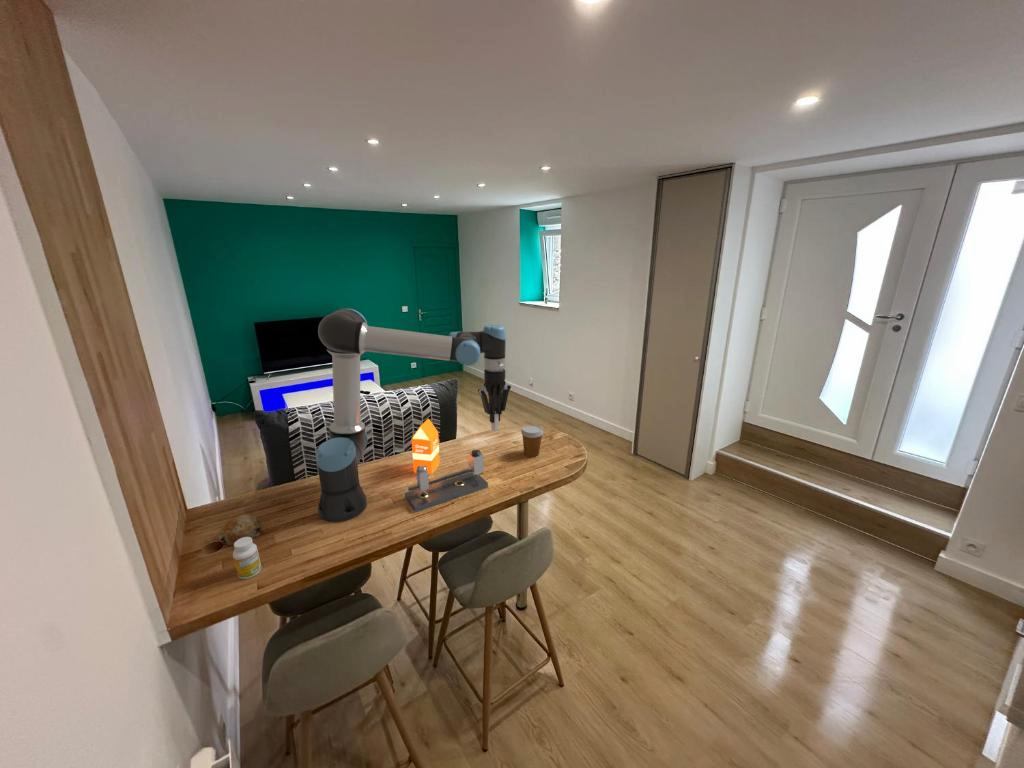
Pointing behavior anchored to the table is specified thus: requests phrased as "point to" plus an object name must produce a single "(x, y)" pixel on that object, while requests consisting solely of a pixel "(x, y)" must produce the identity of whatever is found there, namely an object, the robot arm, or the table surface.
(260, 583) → the table surface
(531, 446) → the disposable coffee cup
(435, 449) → the orange juice
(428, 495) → the plate
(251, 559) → the supplement bottle
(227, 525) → the bread roll
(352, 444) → the robot arm
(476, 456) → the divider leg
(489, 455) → the table surface
